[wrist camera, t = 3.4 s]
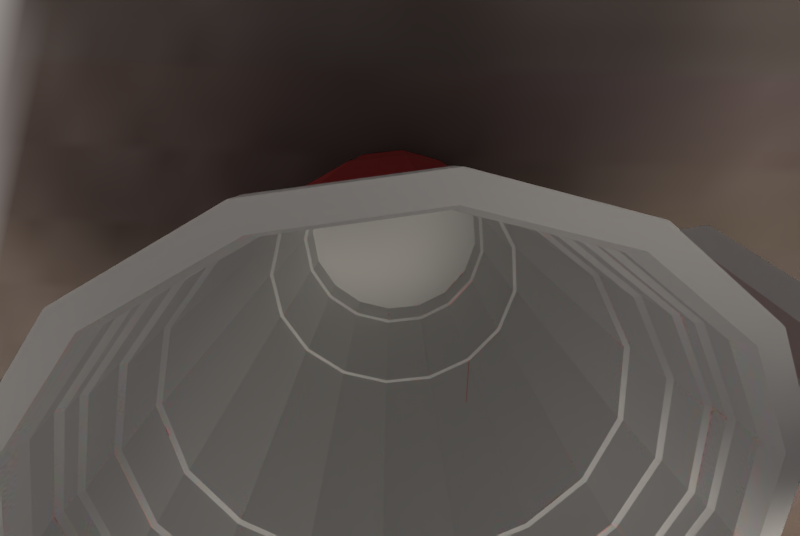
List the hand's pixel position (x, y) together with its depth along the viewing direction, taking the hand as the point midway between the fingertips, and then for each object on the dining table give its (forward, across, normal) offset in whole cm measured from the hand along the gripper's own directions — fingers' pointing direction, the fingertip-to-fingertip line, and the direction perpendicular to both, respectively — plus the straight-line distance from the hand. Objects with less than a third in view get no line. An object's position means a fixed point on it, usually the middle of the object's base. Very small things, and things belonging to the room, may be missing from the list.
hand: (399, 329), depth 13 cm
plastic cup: (+6, 0, 0) cm, 6 cm away
